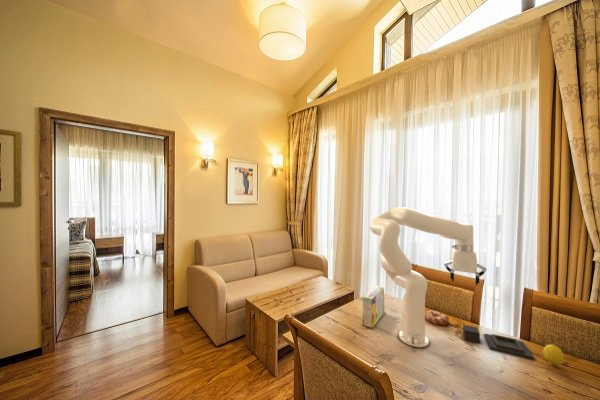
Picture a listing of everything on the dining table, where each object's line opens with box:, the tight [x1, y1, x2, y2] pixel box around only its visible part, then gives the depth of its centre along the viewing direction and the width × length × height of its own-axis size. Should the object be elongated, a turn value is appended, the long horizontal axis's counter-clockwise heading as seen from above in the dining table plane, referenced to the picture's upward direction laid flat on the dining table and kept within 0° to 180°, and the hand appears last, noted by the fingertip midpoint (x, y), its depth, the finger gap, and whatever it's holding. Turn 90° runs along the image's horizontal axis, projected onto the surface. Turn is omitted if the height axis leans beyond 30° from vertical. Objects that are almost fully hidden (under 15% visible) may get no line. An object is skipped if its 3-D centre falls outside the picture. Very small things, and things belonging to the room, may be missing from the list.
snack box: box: [362, 284, 386, 329], centre depth 129 cm, size 21×6×15 cm, turn 144°
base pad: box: [483, 333, 534, 360], centre depth 104 cm, size 12×14×2 cm
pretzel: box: [425, 310, 449, 326], centre depth 127 cm, size 12×11×4 cm
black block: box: [462, 324, 481, 344], centre depth 111 cm, size 6×6×4 cm
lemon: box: [542, 344, 565, 366], centre depth 93 cm, size 6×6×8 cm
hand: (464, 282), depth 116 cm, fingers open, 9 cm apart
